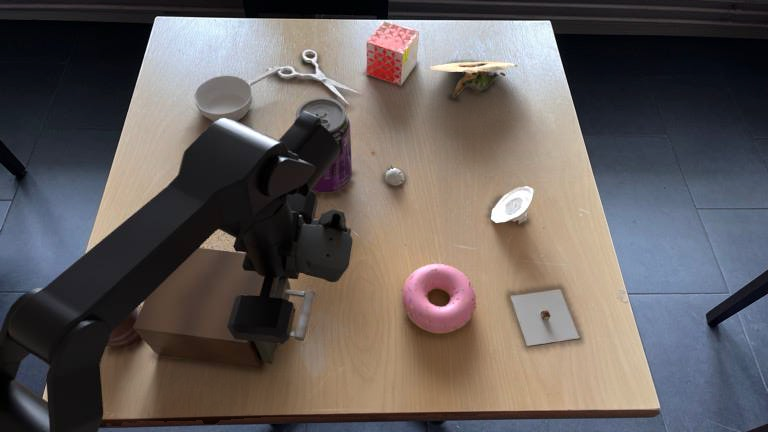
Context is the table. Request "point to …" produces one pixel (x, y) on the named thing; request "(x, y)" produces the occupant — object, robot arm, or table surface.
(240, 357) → the cabinet
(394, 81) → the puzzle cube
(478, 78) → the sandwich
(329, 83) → the scissors
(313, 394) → the table surface
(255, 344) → the drawer
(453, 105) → the table surface
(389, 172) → the white rounded lump
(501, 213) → the white footed dish
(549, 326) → the grey square plate
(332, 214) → the robot arm
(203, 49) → the table surface
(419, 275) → the doughnut
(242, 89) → the saucepan
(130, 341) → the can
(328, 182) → the beverage can
